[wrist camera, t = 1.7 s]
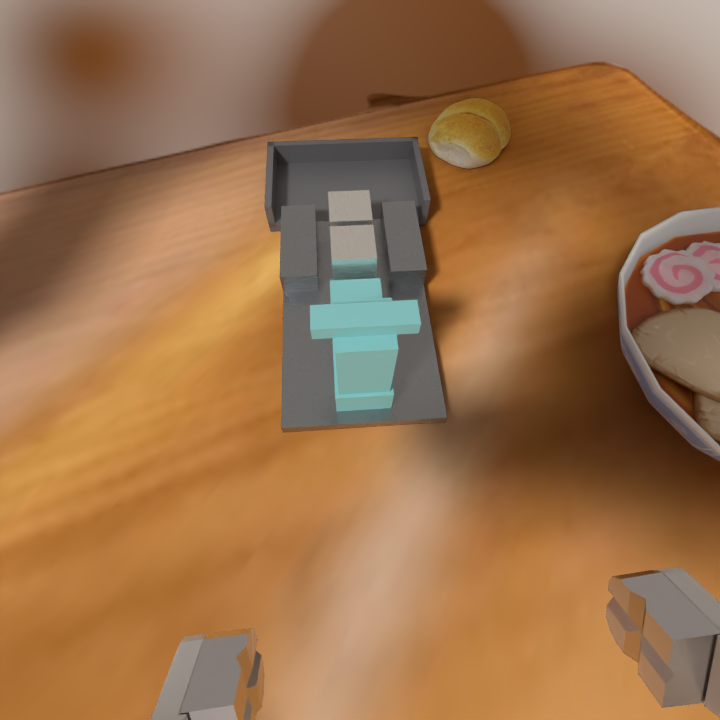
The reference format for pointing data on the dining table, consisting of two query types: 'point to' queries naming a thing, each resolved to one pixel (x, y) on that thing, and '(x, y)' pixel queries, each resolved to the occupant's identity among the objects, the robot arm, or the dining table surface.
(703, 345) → the ramen bowl
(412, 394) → the slot board
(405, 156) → the tray
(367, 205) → the chip
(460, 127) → the bread roll
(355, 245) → the beige cube
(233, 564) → the dining table surface
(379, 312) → the rake tool
